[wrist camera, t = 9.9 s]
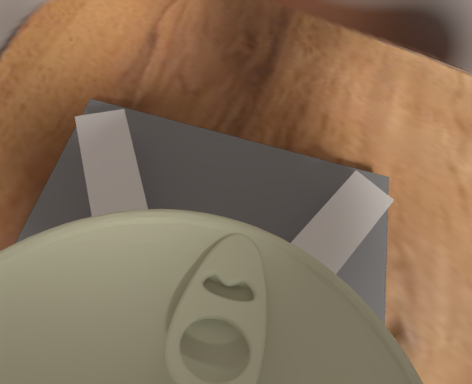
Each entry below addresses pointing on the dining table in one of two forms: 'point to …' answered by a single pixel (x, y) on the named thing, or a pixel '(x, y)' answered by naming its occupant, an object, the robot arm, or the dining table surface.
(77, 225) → the can
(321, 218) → the coupling stand
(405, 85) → the dining table surface
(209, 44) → the dining table surface
